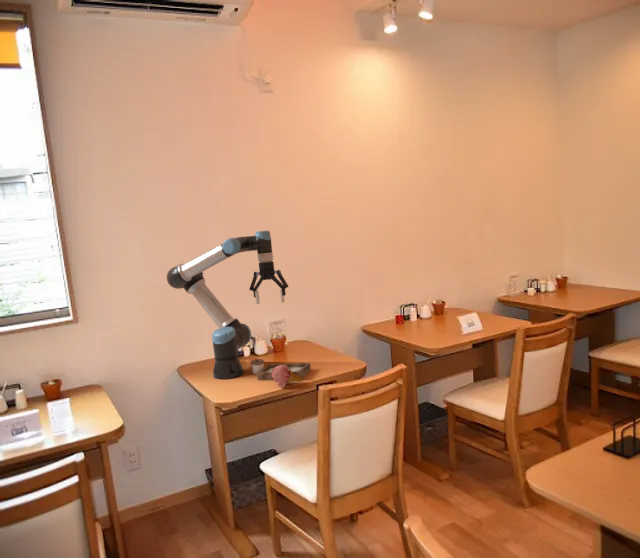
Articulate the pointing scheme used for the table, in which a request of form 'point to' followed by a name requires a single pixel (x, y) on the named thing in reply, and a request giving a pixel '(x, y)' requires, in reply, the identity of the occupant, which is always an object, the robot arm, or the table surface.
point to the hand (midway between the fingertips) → (270, 303)
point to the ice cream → (284, 375)
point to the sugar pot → (257, 365)
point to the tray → (296, 368)
